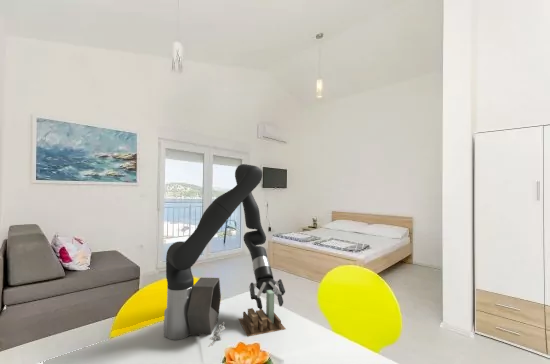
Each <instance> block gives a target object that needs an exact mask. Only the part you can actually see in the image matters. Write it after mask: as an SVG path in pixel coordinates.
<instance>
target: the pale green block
mask: <svg viewBox="0 0 550 364" xmlns="http://www.w3.org/2000/svg"><path fill="white" fill-rule="evenodd" d="M265 294H266V299H265V300H266V302H265V303H266V306H265V308H266V309H265V314H266V315H267V316H268V317H269V319H270V320H271V321H272V324H274V313H275V294H274V292H273V291H272V290H267V291H266V293H265Z"/></svg>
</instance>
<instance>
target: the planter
mask: <svg viewBox="0 0 550 364" xmlns="http://www.w3.org/2000/svg"><path fill="white" fill-rule="evenodd" d="M221 295H222V293H221V283H220V277H199V279H198V280H196V282H195V283H194V286H193V288H192V293H191V298H190V304H189V309H188V314H187V316H188V323H189V330H190V335H189V336H194V337H195V336H196V337H197V336H198V337H199V336H200V335H213V333H214V330H215V327H216V324H217V323H218V321H219V313H220V306H221V301H222V299H221V298H222V297H221Z"/></svg>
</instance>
